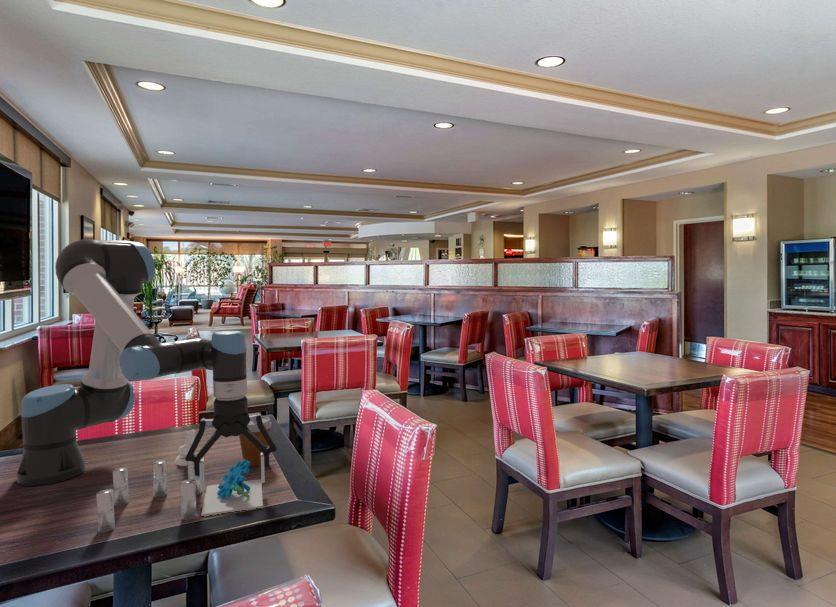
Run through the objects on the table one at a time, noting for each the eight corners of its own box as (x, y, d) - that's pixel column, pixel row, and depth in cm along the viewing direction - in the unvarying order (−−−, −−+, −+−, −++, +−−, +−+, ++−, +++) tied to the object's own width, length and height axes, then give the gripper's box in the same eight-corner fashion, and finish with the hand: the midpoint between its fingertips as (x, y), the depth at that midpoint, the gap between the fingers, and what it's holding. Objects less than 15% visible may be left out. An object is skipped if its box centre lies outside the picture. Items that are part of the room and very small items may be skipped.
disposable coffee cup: (244, 455, 151) (243, 415, 151) (276, 455, 151) (275, 415, 150) (232, 468, 142) (230, 425, 141) (266, 468, 141) (265, 425, 141)
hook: (190, 453, 139) (174, 437, 141) (183, 480, 145) (168, 464, 147) (213, 440, 145) (197, 424, 147) (206, 466, 151) (190, 450, 153)
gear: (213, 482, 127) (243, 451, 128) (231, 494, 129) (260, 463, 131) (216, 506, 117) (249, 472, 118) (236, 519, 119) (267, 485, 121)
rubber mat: (201, 516, 113) (201, 514, 113) (207, 488, 129) (207, 485, 129) (262, 508, 117) (262, 505, 117) (261, 481, 133) (261, 479, 133)
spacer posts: (96, 533, 106) (94, 496, 106) (118, 497, 123) (116, 465, 123) (195, 519, 112) (194, 483, 112) (203, 487, 129) (202, 456, 129)
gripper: (170, 405, 114) (173, 498, 115) (285, 396, 122) (288, 483, 123) (175, 397, 121) (178, 485, 123) (284, 389, 129) (286, 472, 130)
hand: (233, 484), depth 123 cm, fingers open, 13 cm apart
